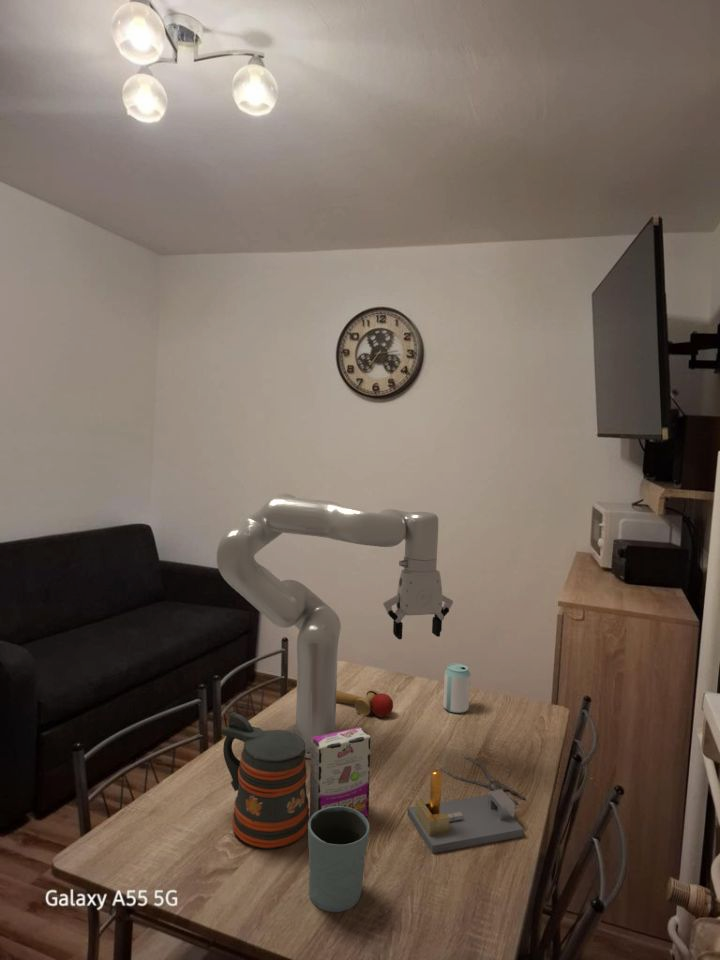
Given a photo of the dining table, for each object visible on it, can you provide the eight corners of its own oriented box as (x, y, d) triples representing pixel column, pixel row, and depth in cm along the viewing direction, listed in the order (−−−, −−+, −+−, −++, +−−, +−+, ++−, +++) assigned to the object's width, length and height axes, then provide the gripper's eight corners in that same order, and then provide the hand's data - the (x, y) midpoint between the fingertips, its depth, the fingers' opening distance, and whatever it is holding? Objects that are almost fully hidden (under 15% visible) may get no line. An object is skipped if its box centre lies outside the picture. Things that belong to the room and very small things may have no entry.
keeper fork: (429, 836, 117) (429, 820, 117) (415, 814, 123) (415, 800, 123) (448, 832, 118) (449, 817, 118) (433, 811, 125) (434, 797, 124)
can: (453, 701, 180) (455, 660, 179) (473, 709, 175) (475, 667, 174) (437, 707, 176) (439, 666, 175) (457, 716, 170) (459, 673, 169)
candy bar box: (357, 802, 129) (360, 725, 128) (369, 816, 125) (372, 736, 124) (307, 816, 124) (310, 736, 123) (317, 830, 120) (320, 747, 118)
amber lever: (431, 826, 120) (434, 775, 119) (427, 819, 122) (429, 769, 121) (463, 820, 122) (466, 770, 121) (459, 814, 124) (461, 765, 123)
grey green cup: (318, 866, 110) (320, 800, 109) (374, 880, 107) (376, 812, 106) (296, 907, 100) (298, 835, 99) (356, 924, 97) (359, 850, 97)
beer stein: (197, 830, 119) (199, 727, 117) (240, 790, 132) (242, 698, 131) (285, 859, 112) (288, 750, 110) (321, 814, 125) (325, 716, 124)
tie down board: (432, 853, 114) (432, 845, 114) (407, 814, 126) (407, 807, 126) (523, 836, 120) (523, 829, 120) (491, 800, 132) (492, 794, 132)
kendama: (327, 712, 174) (383, 720, 164) (328, 688, 175) (384, 695, 165) (343, 707, 180) (398, 715, 171) (343, 684, 181) (398, 691, 171)
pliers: (459, 752, 150) (538, 784, 138) (459, 756, 150) (538, 788, 138) (437, 768, 143) (518, 803, 130) (437, 772, 143) (518, 807, 130)
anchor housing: (500, 820, 123) (501, 805, 122) (487, 805, 127) (488, 791, 127) (513, 818, 123) (514, 803, 123) (500, 803, 128) (501, 789, 128)
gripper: (391, 569, 141) (388, 644, 142) (461, 567, 146) (457, 639, 148) (380, 562, 148) (377, 633, 150) (446, 560, 154) (443, 629, 155)
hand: (417, 636), depth 149 cm, fingers open, 9 cm apart
